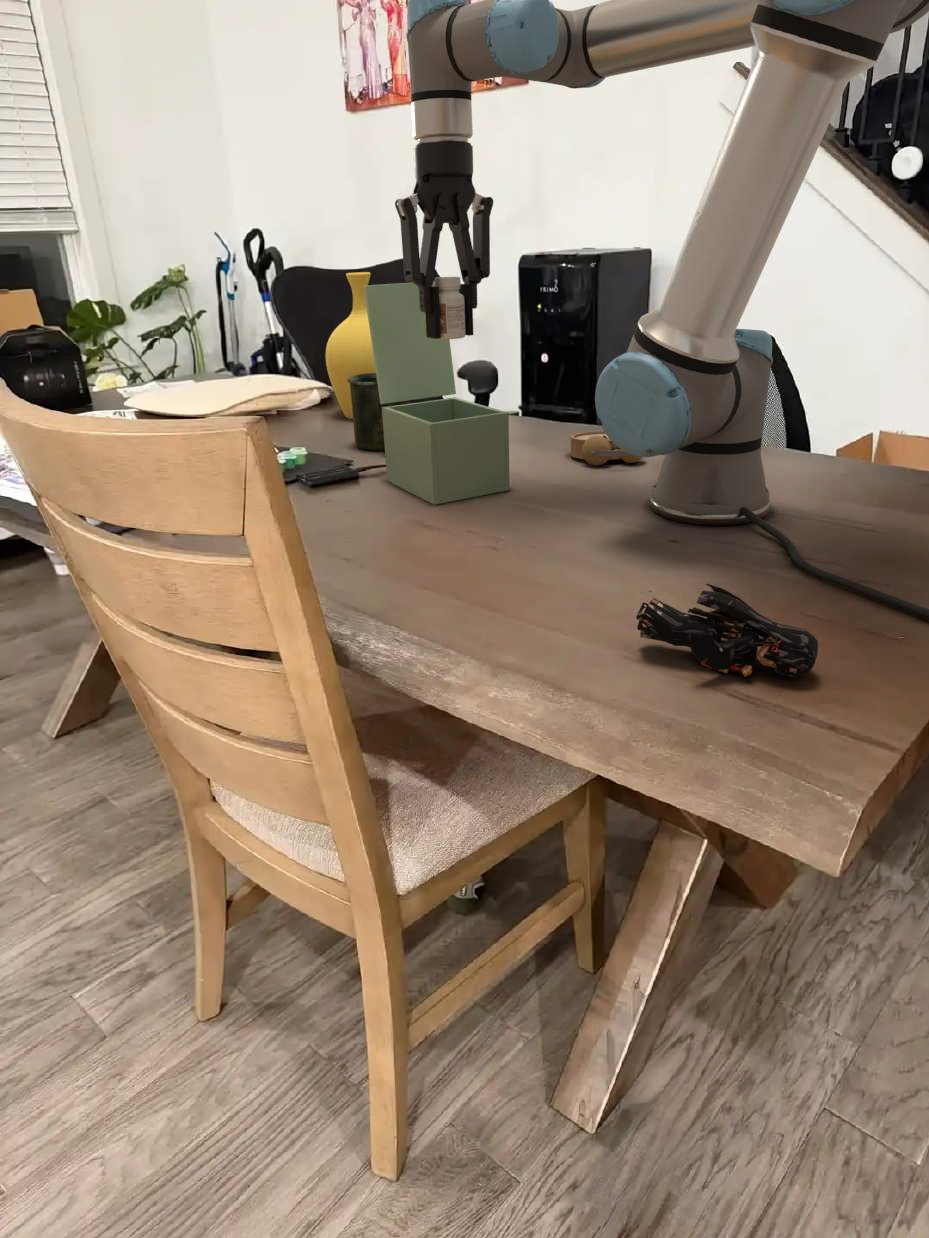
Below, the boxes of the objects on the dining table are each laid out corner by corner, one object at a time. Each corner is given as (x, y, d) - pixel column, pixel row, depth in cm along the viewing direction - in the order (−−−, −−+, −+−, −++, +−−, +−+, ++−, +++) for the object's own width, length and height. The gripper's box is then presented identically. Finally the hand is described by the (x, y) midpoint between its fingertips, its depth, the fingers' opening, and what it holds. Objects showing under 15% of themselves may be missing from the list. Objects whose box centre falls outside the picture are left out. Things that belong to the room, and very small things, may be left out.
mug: (408, 436, 159) (404, 370, 154) (419, 453, 146) (415, 383, 141) (350, 440, 157) (345, 374, 152) (357, 458, 144) (350, 387, 139)
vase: (373, 405, 190) (363, 270, 178) (422, 412, 179) (415, 270, 168) (315, 417, 179) (300, 275, 168) (364, 426, 169) (352, 275, 157)
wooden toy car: (626, 429, 145) (656, 431, 131) (626, 458, 146) (657, 463, 132) (562, 433, 144) (586, 436, 129) (563, 462, 145) (587, 468, 131)
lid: (442, 280, 127) (440, 281, 127) (365, 285, 121) (363, 286, 122) (456, 394, 131) (453, 394, 132) (382, 404, 126) (380, 404, 126)
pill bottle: (428, 337, 117) (425, 277, 114) (457, 335, 119) (455, 276, 116) (441, 340, 114) (438, 278, 110) (470, 338, 115) (469, 277, 112)
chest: (509, 490, 124) (508, 412, 119) (434, 505, 118) (429, 424, 114) (457, 468, 136) (455, 397, 132) (387, 481, 131) (381, 407, 126)
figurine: (621, 643, 70) (811, 686, 65) (643, 557, 71) (833, 592, 66) (635, 661, 78) (805, 700, 73) (655, 583, 79) (824, 616, 74)
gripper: (486, 146, 113) (490, 329, 123) (367, 144, 105) (380, 339, 115) (517, 140, 107) (518, 333, 117) (392, 137, 99) (405, 344, 109)
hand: (450, 335), depth 116 cm, fingers closed on pill bottle, 4 cm apart
